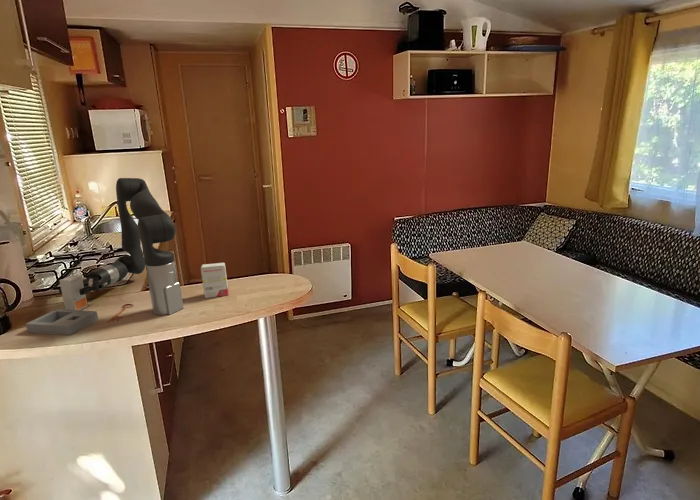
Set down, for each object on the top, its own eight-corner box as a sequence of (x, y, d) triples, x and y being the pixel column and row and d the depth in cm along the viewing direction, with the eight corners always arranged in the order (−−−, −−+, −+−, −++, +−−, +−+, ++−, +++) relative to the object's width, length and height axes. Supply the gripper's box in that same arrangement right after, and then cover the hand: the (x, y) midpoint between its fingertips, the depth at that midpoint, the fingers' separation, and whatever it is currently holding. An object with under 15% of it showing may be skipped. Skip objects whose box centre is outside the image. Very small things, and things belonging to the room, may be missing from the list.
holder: (98, 319, 155) (96, 311, 155) (70, 335, 144) (68, 326, 143) (58, 317, 159) (56, 309, 158) (28, 332, 148) (25, 323, 147)
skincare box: (76, 312, 162) (69, 280, 159) (65, 312, 163) (58, 280, 160) (88, 306, 168) (82, 274, 165) (78, 305, 169) (71, 274, 166)
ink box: (228, 291, 177) (225, 261, 174) (228, 295, 172) (224, 265, 169) (205, 293, 175) (201, 264, 172) (204, 298, 171) (200, 267, 167)
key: (120, 323, 153) (140, 305, 168) (120, 321, 153) (140, 303, 167) (102, 322, 153) (124, 305, 168) (102, 320, 153) (124, 302, 167)
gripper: (85, 267, 178) (50, 281, 163) (117, 268, 175) (85, 282, 160) (89, 285, 180) (55, 301, 165) (121, 287, 177) (89, 303, 162)
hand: (70, 292), depth 162 cm, fingers open, 8 cm apart
